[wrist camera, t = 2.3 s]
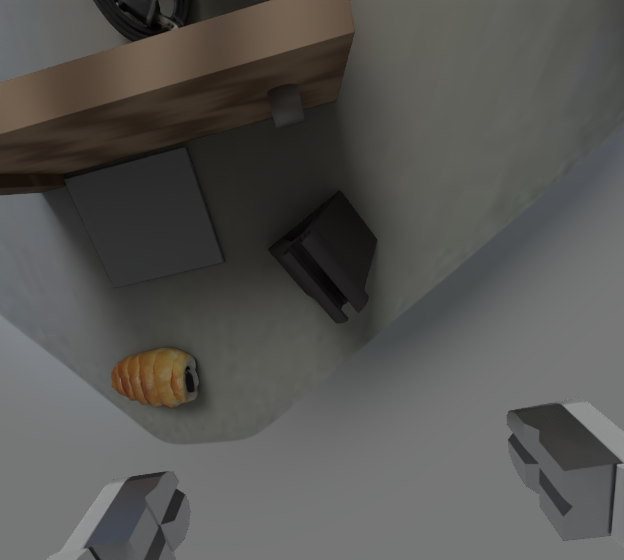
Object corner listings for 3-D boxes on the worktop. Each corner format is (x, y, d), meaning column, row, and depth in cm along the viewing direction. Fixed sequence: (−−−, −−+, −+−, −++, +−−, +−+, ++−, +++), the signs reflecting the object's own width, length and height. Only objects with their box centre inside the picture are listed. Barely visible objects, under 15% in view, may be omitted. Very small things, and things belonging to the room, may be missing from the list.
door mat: (186, 147, 29) (184, 147, 28) (224, 261, 32) (223, 262, 32) (66, 179, 30) (63, 179, 29) (116, 286, 33) (113, 288, 33)
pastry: (126, 395, 38) (106, 419, 34) (112, 345, 36) (89, 364, 32) (204, 393, 38) (192, 416, 34) (194, 342, 36) (181, 361, 32)
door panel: (328, 61, 27) (345, -90, 11) (341, 125, 28) (369, 68, 13) (19, 148, 29) (-306, 121, 14) (45, 203, 31) (-221, 231, 15)
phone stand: (305, 292, 33) (300, 354, 22) (268, 248, 32) (241, 289, 20) (376, 239, 31) (411, 276, 20) (340, 189, 30) (354, 199, 18)
